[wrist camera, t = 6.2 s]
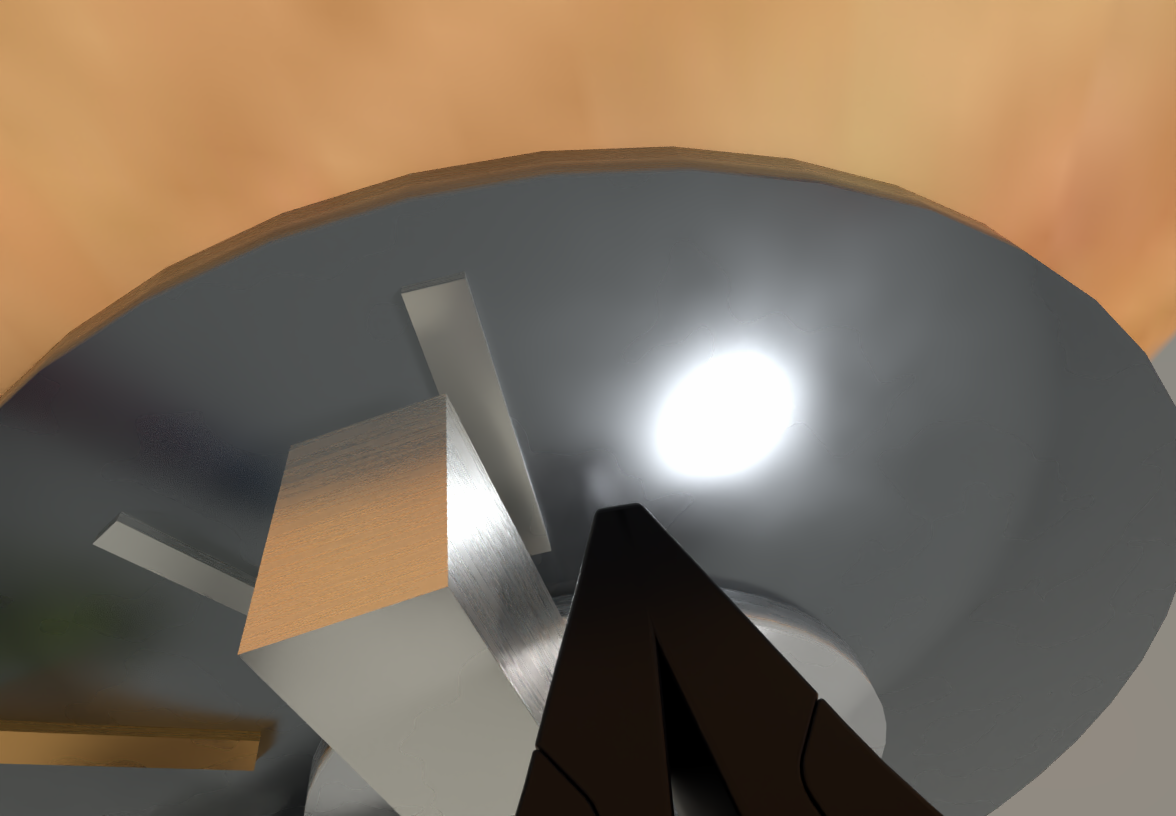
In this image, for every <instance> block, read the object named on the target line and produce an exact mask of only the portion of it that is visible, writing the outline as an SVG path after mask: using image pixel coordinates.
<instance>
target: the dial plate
mask: <svg viewBox="0 0 1176 816" xmlns="http://www.w3.org/2000/svg"><path fill="white" fill-rule="evenodd" d="M444 393H446V394H447V396H448V398H449V400H450V402H451V404H452V405H453V407H454V409H455V411H456V413H457V415H458V417H459V419H460V421H461V423H462V425H463V427H464V429H465V431H466V433H467V435H468V437H469V438H470V440H471V442H472V444H473V446H474V448H475V450H476V452H477V454H478V456H479V458H480V460H481V462H482V464H483V466H484V468H485V469H486V471H487V473H488V475H489V477H490V479H491V481H492V483H493V485H494V487H495V489H496V491H497V493H498V495H499V497H500V499H501V501H502V502H503V504H504V506H505V508H506V510H507V512H508V514H509V516H510V518H511V520H512V522H513V524H514V526H515V528H516V530H517V532H518V533H519V535H520V537H521V539H522V541H523V543H524V545H525V547H526V549H527V551H528V553H529V555H530V557H531V559H532V561H533V563H534V564H535V566H536V568H537V570H538V572H539V574H540V576H541V578H542V580H543V582H544V584H545V586H546V588H547V590H548V592H549V594H550V596H551V597H552V598H553V597H558V596H563V595H569V594H574V591H575V587H576V584H577V580H578V576H579V572H580V568H581V564H582V560H583V557H584V553H585V549H586V545H587V541H588V537H589V533H590V530H591V526H592V522H593V518H594V514H595V512H596V511H597V510H598V509H600V508H605V507H611V506H617V505H624V504H630V503H640V504H642V505H643V506H644V507H645V508H646V509H647V510H648V511H649V512H650V513H651V514H652V515H653V516H654V517H655V519H656V520H657V521H658V522H659V523H660V524H661V525H662V526H663V527H664V528H665V529H666V530H667V531H668V532H669V534H670V535H671V536H672V537H673V538H674V539H675V540H676V541H677V542H678V543H679V544H680V545H681V546H682V548H683V549H684V550H685V551H686V552H687V553H688V554H689V555H690V556H691V557H692V558H693V559H694V560H695V561H696V563H697V564H698V565H699V566H700V567H701V568H702V569H703V570H704V571H705V572H706V573H707V574H708V575H709V576H710V578H711V579H712V580H713V581H714V582H715V583H716V584H717V585H718V586H719V587H720V588H726V589H731V590H736V591H741V592H746V593H751V594H755V595H760V596H764V597H767V598H770V599H773V600H776V601H779V602H782V603H785V604H788V605H791V606H793V607H795V608H797V609H799V610H801V611H803V612H805V613H807V614H809V615H811V616H813V617H815V618H817V619H819V620H820V621H822V622H823V623H824V624H826V625H827V626H828V627H830V628H831V629H832V630H834V631H835V632H836V633H837V634H839V635H840V636H841V637H842V638H843V640H844V641H845V642H846V643H847V644H848V645H849V646H850V648H851V649H852V650H853V651H854V652H855V654H856V656H857V658H858V660H859V662H860V663H861V665H862V667H863V669H864V671H865V673H866V675H867V677H868V679H869V681H870V683H871V685H872V687H873V688H874V690H875V692H876V694H877V696H878V698H879V700H880V702H881V704H882V706H883V711H884V715H885V720H886V744H885V747H884V751H883V754H882V758H881V759H882V760H883V761H884V762H885V763H886V764H887V765H888V766H890V767H891V768H892V769H893V770H894V771H895V772H896V773H897V774H898V775H899V776H901V777H902V778H903V779H904V780H905V781H906V782H907V783H908V784H909V785H910V786H911V787H913V788H914V789H915V790H916V791H917V792H918V793H919V794H920V795H921V796H922V797H923V798H925V799H926V800H927V801H928V802H929V803H930V804H931V805H932V806H934V807H935V808H936V809H937V810H938V811H939V812H940V813H942V814H943V815H944V816H987V815H988V814H989V813H991V812H992V811H994V810H995V809H997V808H998V807H999V806H1001V805H1002V804H1003V803H1005V802H1006V801H1007V800H1008V799H1010V798H1011V797H1012V796H1014V795H1015V794H1016V793H1017V792H1019V791H1020V790H1021V789H1022V788H1024V787H1025V786H1026V785H1028V784H1029V783H1030V782H1031V781H1033V780H1034V779H1035V778H1036V777H1038V776H1039V775H1040V774H1041V773H1042V772H1043V771H1044V770H1046V769H1047V767H1049V766H1050V765H1051V764H1052V763H1053V762H1054V761H1055V760H1056V759H1057V758H1059V757H1060V756H1061V755H1062V754H1063V753H1064V752H1065V751H1066V750H1067V749H1068V748H1069V747H1070V746H1072V745H1073V744H1074V743H1075V742H1076V741H1077V740H1078V739H1079V738H1080V737H1081V735H1082V734H1083V733H1084V732H1085V731H1086V730H1087V729H1088V728H1089V727H1090V726H1091V724H1092V723H1093V722H1094V721H1095V720H1096V719H1097V718H1098V717H1099V715H1100V714H1101V713H1102V712H1103V711H1104V710H1105V709H1106V708H1107V707H1108V706H1109V705H1110V703H1111V702H1112V701H1113V699H1114V698H1115V697H1116V695H1117V694H1118V693H1119V691H1120V690H1121V688H1122V687H1123V686H1124V684H1125V683H1126V682H1127V680H1128V679H1129V678H1130V676H1131V675H1132V673H1133V672H1134V671H1135V669H1136V668H1137V667H1138V665H1139V664H1140V662H1141V661H1142V659H1143V658H1144V656H1145V654H1146V652H1147V650H1148V649H1149V647H1150V645H1151V643H1152V641H1153V639H1154V637H1155V636H1156V634H1157V632H1158V630H1159V629H1160V627H1161V625H1162V623H1163V621H1164V620H1165V618H1166V616H1167V613H1168V610H1169V608H1170V605H1171V602H1172V600H1173V597H1174V594H1175V592H1176V406H1175V405H1174V403H1173V401H1172V399H1171V398H1170V396H1169V394H1168V392H1167V391H1166V389H1165V387H1164V385H1163V383H1162V382H1161V380H1160V378H1159V376H1158V375H1157V373H1156V371H1155V369H1154V368H1153V366H1152V364H1151V362H1150V360H1149V359H1148V357H1147V355H1146V353H1145V352H1144V351H1143V350H1142V349H1141V348H1140V347H1139V346H1138V345H1137V344H1136V343H1135V341H1134V340H1133V339H1132V338H1131V337H1130V336H1129V335H1128V334H1127V333H1126V332H1125V331H1124V330H1123V329H1122V328H1121V327H1120V325H1119V324H1118V323H1117V322H1116V321H1115V320H1114V319H1113V318H1112V317H1111V316H1110V315H1109V314H1108V313H1107V312H1106V311H1105V309H1104V308H1103V307H1102V306H1101V305H1100V304H1099V303H1098V302H1097V301H1096V300H1095V299H1093V298H1092V297H1090V296H1089V295H1088V294H1086V293H1085V292H1083V291H1082V290H1080V289H1079V288H1077V287H1076V286H1074V285H1073V284H1072V283H1070V282H1069V281H1067V280H1066V279H1064V278H1063V277H1061V276H1060V275H1058V274H1057V273H1055V272H1054V271H1053V270H1051V269H1050V268H1048V267H1047V266H1045V265H1044V264H1042V263H1041V262H1039V261H1038V260H1036V259H1035V258H1034V257H1032V256H1031V255H1029V254H1028V253H1026V252H1025V251H1023V250H1022V249H1020V248H1019V247H1017V246H1016V245H1014V244H1013V243H1011V242H1010V241H1009V240H1007V239H1006V238H1004V237H1003V236H1001V235H1000V234H998V233H997V232H995V231H994V230H992V229H991V228H989V227H988V226H986V225H985V224H983V223H981V222H978V221H976V220H974V219H972V218H969V217H967V216H965V215H963V214H960V213H958V212H956V211H954V210H951V209H949V208H947V207H944V206H942V205H940V204H938V203H935V202H933V201H931V200H929V199H926V198H924V197H922V196H919V195H917V194H915V193H913V192H910V191H908V190H906V189H904V188H901V187H899V186H896V185H893V184H889V183H885V182H881V181H877V180H873V179H869V178H865V177H861V176H857V175H853V174H849V173H846V172H842V171H838V170H834V169H830V168H826V167H822V166H818V165H814V164H810V163H806V162H803V161H799V160H795V159H789V158H779V157H769V156H759V155H749V154H740V153H730V152H720V151H710V150H700V149H691V148H681V147H648V148H620V149H593V150H565V151H541V152H536V153H530V154H524V155H518V156H512V157H506V158H500V159H494V160H488V161H483V162H477V163H471V164H465V165H459V166H453V167H447V168H441V169H436V170H430V171H424V172H418V173H412V174H408V175H405V176H401V177H398V178H395V179H392V180H388V181H385V182H382V183H379V184H376V185H372V186H369V187H366V188H363V189H359V190H356V191H353V192H350V193H347V194H343V195H340V196H337V197H334V198H330V199H327V200H324V201H321V202H318V203H314V204H311V205H308V206H305V207H301V208H298V209H295V210H292V211H288V212H285V213H282V214H280V215H278V216H276V217H274V218H271V219H269V220H267V221H265V222H263V223H261V224H259V225H257V226H254V227H252V228H250V229H248V230H246V231H244V232H242V233H239V234H237V235H235V236H233V237H231V238H229V239H227V240H225V241H222V242H220V243H218V244H216V245H214V246H212V247H210V248H207V249H205V250H203V251H201V252H199V253H197V254H195V255H193V256H190V257H188V258H186V259H184V260H182V261H180V262H178V263H175V264H173V265H171V266H169V267H167V268H165V269H164V270H162V271H161V272H159V273H158V274H156V275H155V276H153V277H152V278H150V279H149V280H147V281H146V282H144V283H143V284H141V285H140V286H138V287H137V288H135V289H134V290H132V291H131V292H129V293H128V294H126V295H125V296H123V297H122V298H120V299H119V300H117V301H116V302H114V303H113V304H111V305H110V306H108V307H107V308H105V309H104V310H102V311H101V312H99V313H98V314H96V315H95V316H93V317H92V318H90V319H89V320H87V321H86V322H84V323H83V324H81V325H80V326H78V327H77V328H75V329H74V330H72V331H71V332H69V333H68V334H67V335H66V336H65V337H64V338H63V339H62V340H61V341H60V342H59V343H58V344H57V345H56V346H55V347H53V348H52V349H51V350H50V351H49V352H48V353H47V354H46V355H45V356H44V357H43V358H42V359H41V360H40V361H39V362H38V363H36V364H35V365H34V366H33V367H32V368H31V369H30V370H29V371H28V372H27V373H26V374H25V375H24V376H23V377H22V378H21V379H19V380H18V381H17V382H16V383H15V384H14V385H13V386H12V387H11V388H10V389H9V390H8V391H7V392H6V393H5V394H4V395H3V396H1V397H0V816H304V811H305V804H306V797H307V790H308V783H309V777H310V771H311V766H312V761H313V757H314V755H315V753H316V750H317V748H318V746H319V743H320V741H321V739H322V738H321V737H320V736H319V735H318V734H317V733H316V732H315V731H314V730H313V729H312V728H311V727H310V726H309V725H308V724H307V723H306V722H305V721H304V720H303V719H302V718H301V717H300V716H299V715H298V714H297V713H296V712H295V711H294V710H293V709H292V708H291V707H290V706H289V705H288V704H287V703H286V702H285V701H284V700H283V699H282V698H281V697H280V696H279V695H278V694H277V693H276V692H275V691H274V690H273V689H272V688H271V687H270V686H269V685H268V684H267V683H265V682H264V681H263V680H262V679H261V678H260V677H259V676H258V675H257V674H256V673H255V672H254V671H253V670H252V669H251V668H250V667H249V666H248V665H247V664H246V663H245V662H244V661H243V660H242V659H241V658H240V657H239V656H238V651H239V647H240V643H241V639H242V635H243V631H244V627H245V623H246V619H247V615H248V612H249V608H250V604H251V600H252V596H253V592H254V588H255V584H256V580H257V576H258V572H259V568H260V564H261V560H262V556H263V552H264V549H265V545H266V541H267V537H268V533H269V529H270V525H271V521H272V517H273V513H274V509H275V505H276V501H277V497H278V493H279V489H280V486H281V482H282V478H283V474H284V470H285V466H286V462H287V458H288V454H289V450H290V446H291V445H293V444H296V443H299V442H302V441H305V440H308V439H311V438H314V437H317V436H320V435H323V434H326V433H329V432H332V431H335V430H338V429H341V428H344V427H347V426H350V425H352V424H355V423H358V422H361V421H364V420H367V419H370V418H373V417H376V416H379V415H382V414H385V413H388V412H391V411H394V410H397V409H400V408H403V407H406V406H409V405H412V404H415V403H418V402H421V401H424V400H427V399H430V398H432V397H435V396H438V395H441V394H444Z"/></svg>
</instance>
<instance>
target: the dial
mask: <svg viewBox="0 0 1176 816" xmlns="http://www.w3.org/2000/svg"><path fill="white" fill-rule="evenodd" d="M721 589H722V590H723V592H724V593H725V594H726V595H727V596H728V597H729V598H730V599H731V600H732V601H733V602H734V603H735V604H736V605H737V607H738V608H739V609H740V610H741V611H742V612H743V613H744V614H745V615H746V616H747V617H748V618H749V619H750V621H751V622H752V623H753V624H754V625H755V626H756V627H757V628H758V629H759V630H760V631H761V632H762V633H763V634H764V636H765V637H766V638H767V639H768V640H769V641H770V642H771V643H772V644H773V645H774V646H775V647H776V648H777V649H778V651H779V652H780V653H781V654H782V655H783V656H784V657H785V658H786V659H787V660H788V661H789V662H790V663H791V665H792V666H793V667H794V668H795V669H796V670H797V671H798V672H799V673H800V674H801V675H802V676H803V677H804V678H805V680H806V681H807V682H808V683H809V684H810V685H811V686H812V687H813V688H814V689H815V690H816V691H817V693H818V699H820V698H823V699H824V700H825V701H826V702H827V703H828V704H829V705H830V706H831V707H832V708H833V709H834V710H835V711H836V712H837V713H838V715H839V716H840V717H841V718H842V719H843V720H844V721H845V722H846V723H847V724H848V725H849V726H850V727H851V728H852V729H853V730H854V731H855V732H856V733H857V734H858V735H859V736H860V737H861V738H862V740H863V741H864V742H865V743H866V744H867V745H868V746H869V747H870V748H871V749H872V750H873V751H874V752H875V753H876V754H877V755H878V756H879V757H880V758H882V754H883V751H884V747H885V744H886V720H885V715H884V711H883V706H882V704H881V702H880V700H879V698H878V696H877V694H876V692H875V690H874V688H873V687H872V685H871V683H870V681H869V679H868V677H867V675H866V673H865V671H864V669H863V667H862V665H861V663H860V662H859V660H858V658H857V656H856V654H855V652H854V651H853V650H852V649H851V648H850V646H849V645H848V644H847V643H846V642H845V641H844V640H843V638H842V637H841V636H840V635H839V634H837V633H836V632H835V631H834V630H832V629H831V628H830V627H828V626H827V625H826V624H824V623H823V622H822V621H820V620H819V619H817V618H815V617H813V616H811V615H809V614H807V613H805V612H803V611H801V610H799V609H797V608H795V607H793V606H791V605H788V604H785V603H782V602H779V601H776V600H773V599H770V598H767V597H764V596H760V595H755V594H751V593H746V592H741V591H736V590H731V589H726V588H721ZM573 595H574V594H569V595H563V596H558V597H553V598H552V597H551V596H550V594H549V592H548V590H547V588H546V586H545V584H544V582H543V580H542V578H541V576H540V574H539V572H538V570H537V568H536V566H535V564H534V563H533V561H532V559H531V557H530V555H529V553H528V551H527V549H526V547H525V545H524V543H523V541H522V539H521V537H520V535H519V533H518V532H517V530H516V528H515V526H514V524H513V522H512V520H511V518H510V516H509V514H508V512H507V510H506V508H505V506H504V504H503V502H502V501H501V499H500V497H499V495H498V493H497V491H496V489H495V487H494V485H493V483H492V481H491V479H490V477H489V475H488V473H487V471H486V469H485V468H484V466H483V464H482V462H481V460H480V458H479V456H478V454H477V452H476V450H475V448H474V446H473V444H472V442H471V440H470V438H469V437H468V435H467V433H466V431H465V429H464V427H463V425H462V423H461V421H460V419H459V417H458V415H457V413H456V411H455V409H454V407H453V405H452V404H451V402H450V400H449V398H448V396H447V394H446V393H444V394H441V395H438V396H435V397H432V398H430V399H427V400H424V401H421V402H418V403H415V404H412V405H409V406H406V407H403V408H400V409H397V410H394V411H391V412H388V413H385V414H382V415H379V416H376V417H373V418H370V419H367V420H364V421H361V422H358V423H355V424H352V425H350V426H347V427H344V428H341V429H338V430H335V431H332V432H329V433H326V434H323V435H320V436H317V437H314V438H311V439H308V440H305V441H302V442H299V443H296V444H293V445H291V446H290V450H289V454H288V458H287V462H286V466H285V470H284V474H283V478H282V482H281V486H280V489H279V493H278V497H277V501H276V505H275V509H274V513H273V517H272V521H271V525H270V529H269V533H268V537H267V541H266V545H265V549H264V552H263V556H262V560H261V564H260V568H259V572H258V576H257V580H256V584H255V588H254V592H253V596H252V600H251V604H250V608H249V612H248V615H247V619H246V623H245V627H244V631H243V635H242V639H241V643H240V647H239V651H238V656H239V657H240V658H241V659H242V660H243V661H244V662H245V663H246V664H247V665H248V666H249V667H250V668H251V669H252V670H253V671H254V672H255V673H256V674H257V675H258V676H259V677H260V678H261V679H262V680H263V681H264V682H265V683H267V684H268V685H269V686H270V687H271V688H272V689H273V690H274V691H275V692H276V693H277V694H278V695H279V696H280V697H281V698H282V699H283V700H284V701H285V702H286V703H287V704H288V705H289V706H290V707H291V708H292V709H293V710H294V711H295V712H296V713H297V714H298V715H299V716H300V717H301V718H302V719H303V720H304V721H305V722H306V723H307V724H308V725H309V726H310V727H311V728H312V729H313V730H314V731H315V732H316V733H317V734H318V735H319V736H320V737H321V738H322V739H321V741H320V743H319V746H318V748H317V750H316V753H315V755H314V757H313V761H312V766H311V771H310V777H309V783H308V790H307V797H306V804H305V811H304V816H515V813H516V810H517V806H518V803H519V800H520V796H521V793H522V789H523V786H524V783H525V779H526V775H527V771H528V767H529V763H530V760H531V756H532V752H533V751H534V750H536V748H535V742H536V738H537V734H538V730H539V726H540V723H541V719H542V715H543V711H544V707H545V703H546V699H547V696H548V692H549V688H550V684H551V680H552V676H553V672H554V668H555V665H556V661H557V657H558V653H559V649H560V645H561V641H562V638H563V634H564V630H565V626H566V622H567V618H568V614H569V611H570V607H571V603H572V599H573ZM673 804H674V801H673ZM674 814H675V816H678V814H677V810H676V807H675V804H674Z"/></svg>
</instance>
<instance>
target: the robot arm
mask: <svg viewBox="0 0 1176 816" xmlns="http://www.w3.org/2000/svg"><path fill="white" fill-rule="evenodd" d="M535 748H536V750H534V751H533V752H532V756H531V760H530V763H529V767H528V771H527V775H526V779H525V783H524V786H523V789H522V793H521V796H520V800H519V803H518V806H517V810H516V813H515V816H675V814H674V804H675V807H676V810H677V814H678V816H944V815H943V814H942V813H940V812H939V811H938V810H937V809H936V808H935V807H934V806H932V805H931V804H930V803H929V802H928V801H927V800H926V799H925V798H923V797H922V796H921V795H920V794H919V793H918V792H917V791H916V790H915V789H914V788H913V787H911V786H910V785H909V784H908V783H907V782H906V781H905V780H904V779H903V778H902V777H901V776H899V775H898V774H897V773H896V772H895V771H894V770H893V769H892V768H891V767H890V766H888V765H887V764H886V763H885V762H884V761H883V760H882V759H881V758H880V757H879V756H878V755H877V754H876V753H875V752H874V751H873V750H872V749H871V748H870V747H869V746H868V745H867V744H866V743H865V742H864V741H863V740H862V738H861V737H860V736H859V735H858V734H857V733H856V732H855V731H854V730H853V729H852V728H851V727H850V726H849V725H848V724H847V723H846V722H845V721H844V720H843V719H842V718H841V717H840V716H839V715H838V713H837V712H836V711H835V710H834V709H833V708H832V707H831V706H830V705H829V704H828V703H827V702H826V701H825V700H824V699H823V698H820V699H818V693H817V691H816V690H815V689H814V688H813V687H812V686H811V685H810V684H809V683H808V682H807V681H806V680H805V678H804V677H803V676H802V675H801V674H800V673H799V672H798V671H797V670H796V669H795V668H794V667H793V666H792V665H791V663H790V662H789V661H788V660H787V659H786V658H785V657H784V656H783V655H782V654H781V653H780V652H779V651H778V649H777V648H776V647H775V646H774V645H773V644H772V643H771V642H770V641H769V640H768V639H767V638H766V637H765V636H764V634H763V633H762V632H761V631H760V630H759V629H758V628H757V627H756V626H755V625H754V624H753V623H752V622H751V621H750V619H749V618H748V617H747V616H746V615H745V614H744V613H743V612H742V611H741V610H740V609H739V608H738V607H737V605H736V604H735V603H734V602H733V601H732V600H731V599H730V598H729V597H728V596H727V595H726V594H725V593H724V592H723V590H722V589H721V588H720V587H719V586H718V585H717V584H716V583H715V582H714V581H713V580H712V579H711V578H710V576H709V575H708V574H707V573H706V572H705V571H704V570H703V569H702V568H701V567H700V566H699V565H698V564H697V563H696V561H695V560H694V559H693V558H692V557H691V556H690V555H689V554H688V553H687V552H686V551H685V550H684V549H683V548H682V546H681V545H680V544H679V543H678V542H677V541H676V540H675V539H674V538H673V537H672V536H671V535H670V534H669V532H668V531H667V530H666V529H665V528H664V527H663V526H662V525H661V524H660V523H659V522H658V521H657V520H656V519H655V517H654V516H653V515H652V514H651V513H650V512H649V511H648V510H647V509H646V508H645V507H644V506H643V505H642V504H640V503H630V504H624V505H617V506H611V507H605V508H600V509H598V510H597V511H596V512H595V514H594V518H593V522H592V526H591V530H590V533H589V537H588V541H587V545H586V549H585V553H584V557H583V560H582V564H581V568H580V572H579V576H578V580H577V584H576V587H575V591H574V595H573V599H572V603H571V607H570V611H569V614H568V618H567V622H566V626H565V630H564V634H563V638H562V641H561V645H560V649H559V653H558V657H557V661H556V665H555V668H554V672H553V676H552V680H551V684H550V688H549V692H548V696H547V699H546V703H545V707H544V711H543V715H542V719H541V723H540V726H539V730H538V734H537V738H536V742H535ZM673 801H674V804H673Z"/></svg>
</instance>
